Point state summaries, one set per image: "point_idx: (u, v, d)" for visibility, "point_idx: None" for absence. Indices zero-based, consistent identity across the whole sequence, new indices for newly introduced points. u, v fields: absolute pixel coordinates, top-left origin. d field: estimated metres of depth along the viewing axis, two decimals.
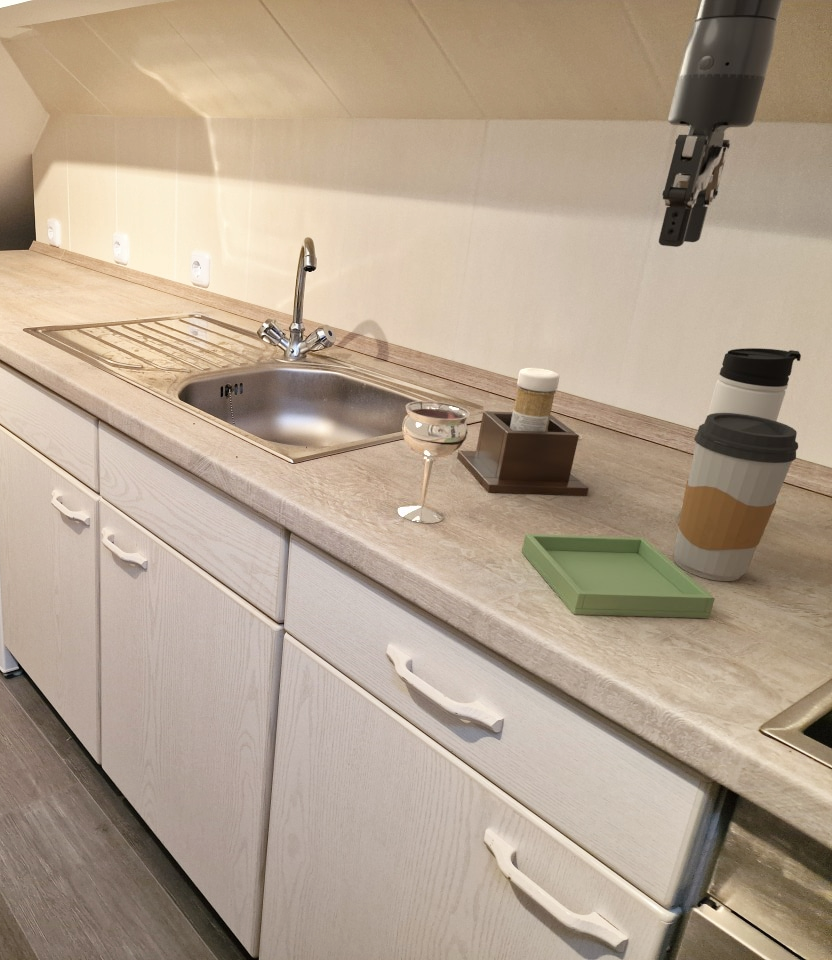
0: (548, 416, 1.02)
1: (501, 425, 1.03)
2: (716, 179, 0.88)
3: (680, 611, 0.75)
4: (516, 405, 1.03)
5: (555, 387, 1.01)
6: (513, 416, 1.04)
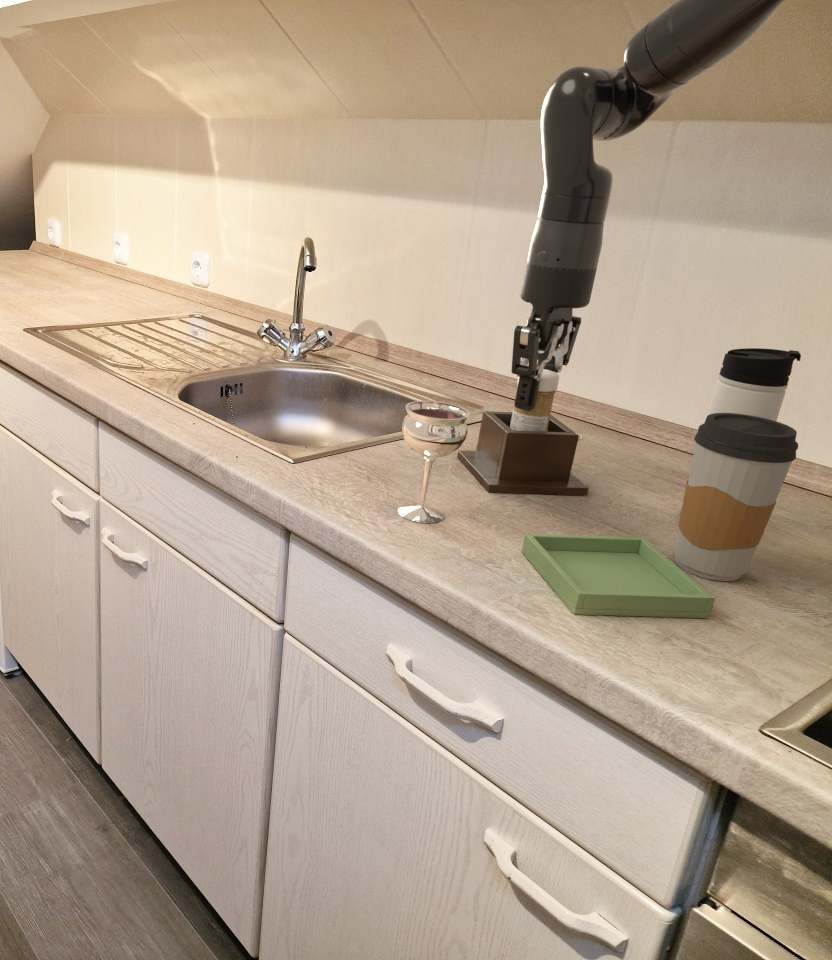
0: (548, 416, 1.02)
1: (501, 425, 1.03)
2: (562, 348, 1.01)
3: (680, 611, 0.75)
4: None
5: (555, 387, 1.01)
6: (513, 416, 1.04)
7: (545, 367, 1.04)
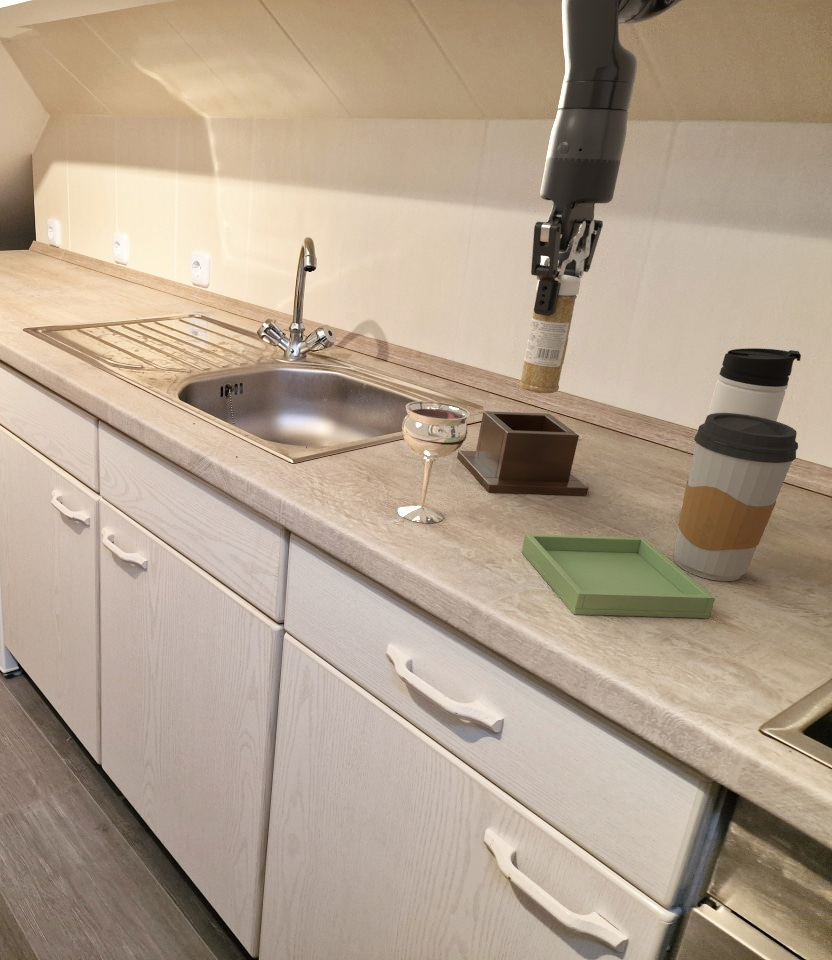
0: (569, 323, 0.98)
1: (501, 425, 1.03)
2: (584, 250, 0.97)
3: (680, 611, 0.75)
4: None
5: (576, 291, 0.97)
6: (532, 324, 1.00)
7: (565, 273, 0.99)
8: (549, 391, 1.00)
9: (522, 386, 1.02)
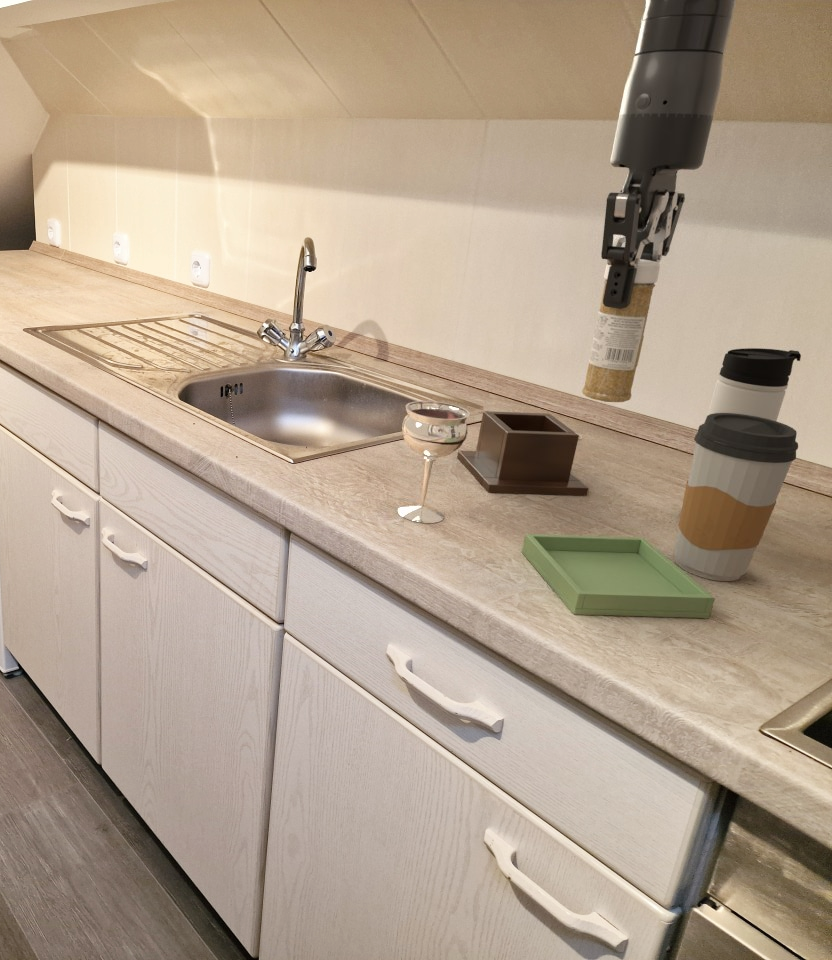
0: (645, 317, 0.81)
1: (501, 425, 1.03)
2: (664, 229, 0.79)
3: (680, 611, 0.75)
4: (603, 305, 0.82)
5: (655, 278, 0.79)
6: (599, 319, 0.82)
7: (639, 257, 0.82)
8: (620, 400, 0.83)
9: (586, 394, 0.85)
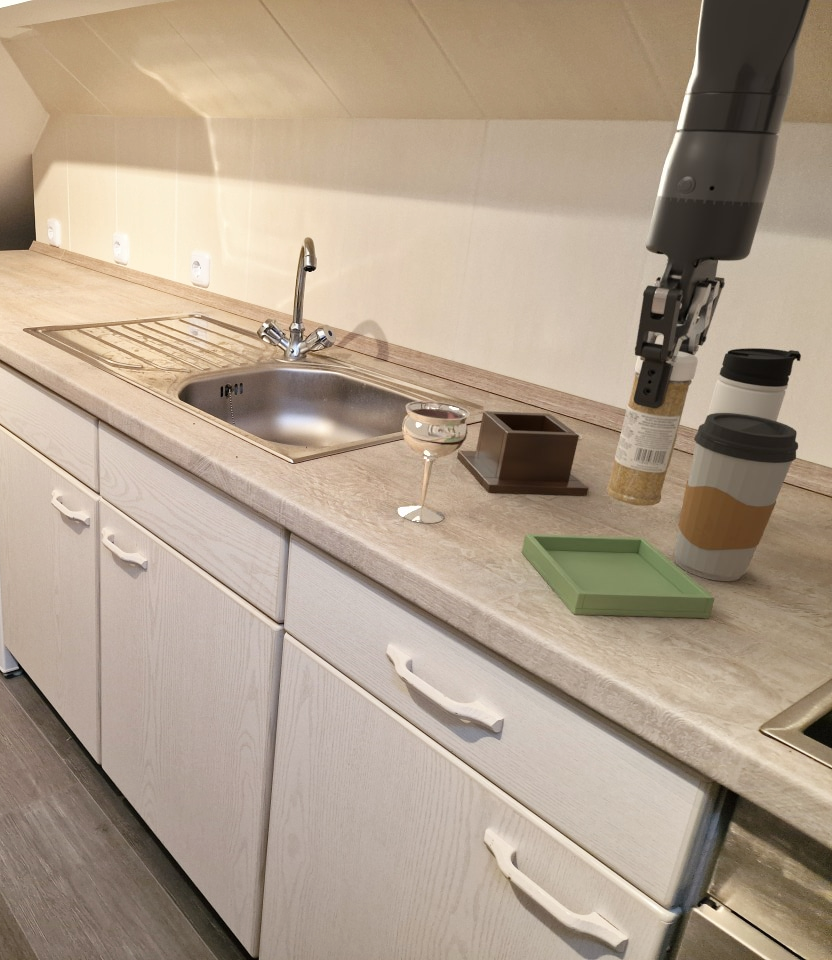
0: (680, 416, 0.73)
1: (501, 425, 1.03)
2: (703, 320, 0.72)
3: (680, 611, 0.75)
4: (633, 400, 0.74)
5: (692, 375, 0.72)
6: (628, 416, 0.75)
7: None
8: (650, 503, 0.75)
9: (612, 494, 0.77)
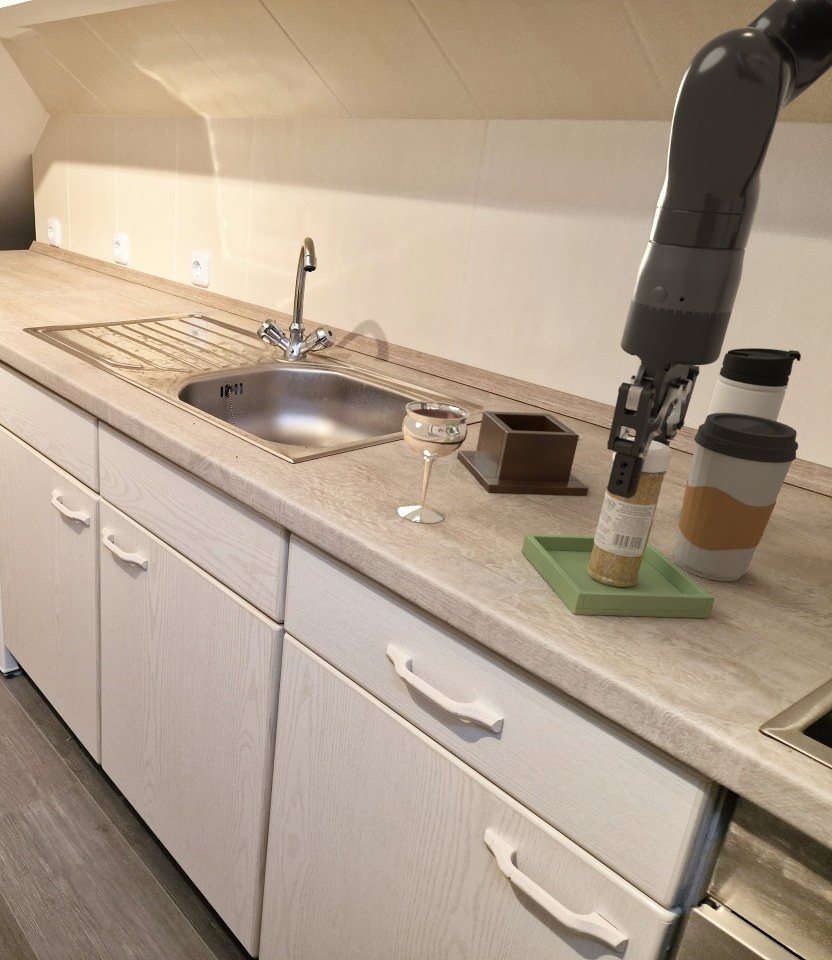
0: (655, 504, 0.76)
1: (501, 425, 1.03)
2: (678, 413, 0.75)
3: (680, 611, 0.75)
4: None
5: (667, 466, 0.75)
6: (606, 502, 0.78)
7: None
8: (627, 585, 0.79)
9: (591, 575, 0.80)
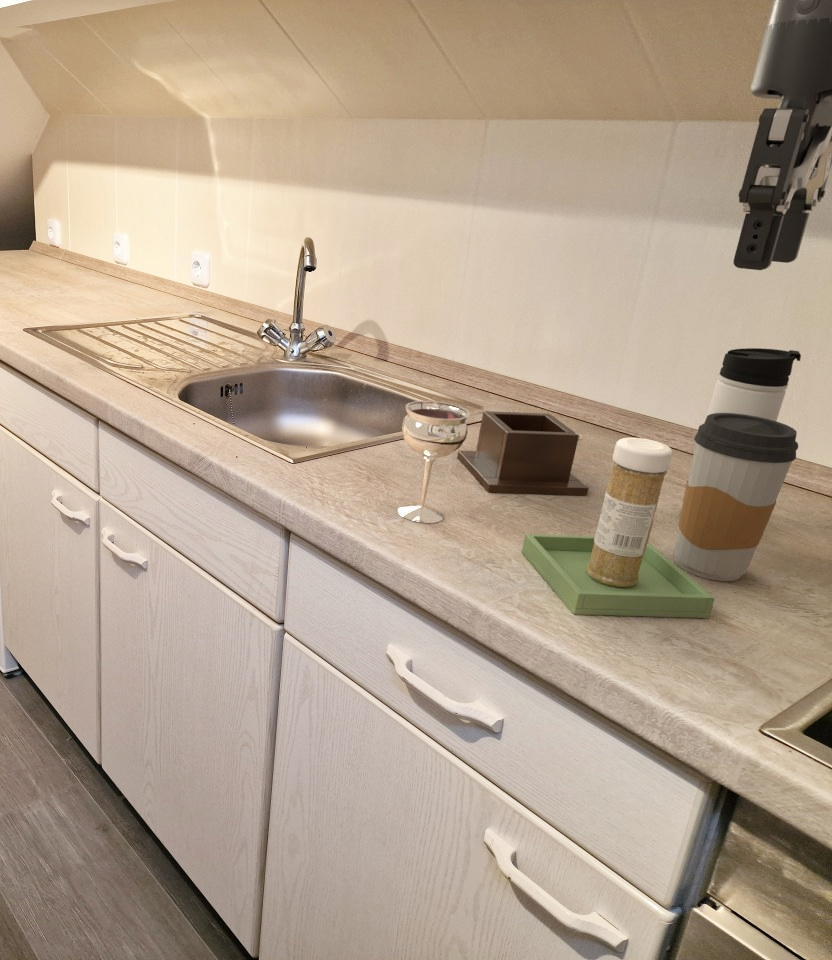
0: (656, 504, 0.76)
1: (501, 425, 1.03)
2: (822, 174, 0.62)
3: (680, 611, 0.75)
4: (611, 488, 0.77)
5: (667, 466, 0.75)
6: (607, 502, 0.78)
7: None
8: (627, 585, 0.79)
9: (591, 575, 0.80)
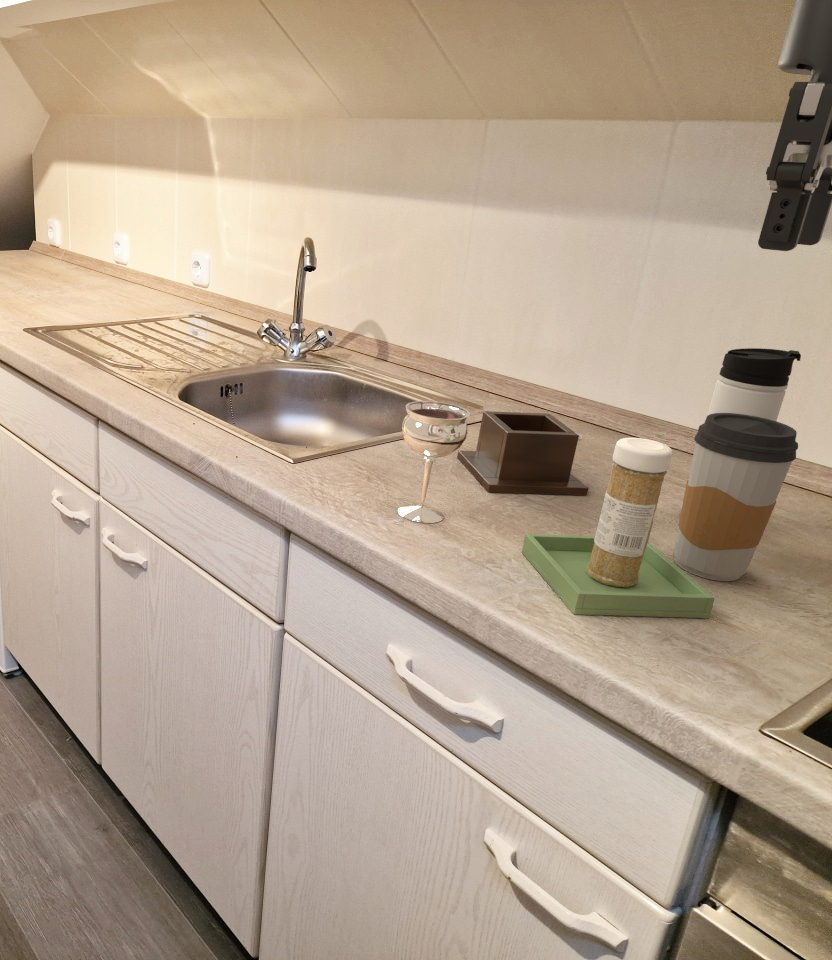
0: (656, 504, 0.76)
1: (501, 425, 1.03)
2: None
3: (680, 611, 0.75)
4: (611, 488, 0.77)
5: (667, 466, 0.75)
6: (607, 502, 0.78)
7: None
8: (627, 585, 0.79)
9: (591, 575, 0.80)
